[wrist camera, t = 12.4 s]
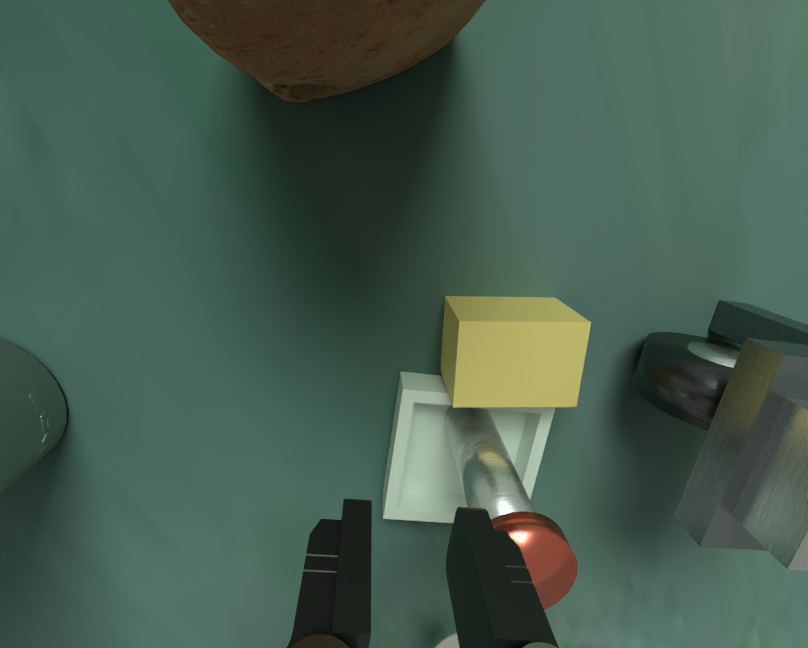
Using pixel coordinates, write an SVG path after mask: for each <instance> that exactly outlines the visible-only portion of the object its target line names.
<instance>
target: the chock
mask: <svg viewBox="0 0 808 648" xmlns="http://www.w3.org/2000/svg"><path fill="white" fill-rule="evenodd" d="M590 326H591V322H590V321H588V320H587V319H585V318H584V317H582V316H581V315H580V314H578V313H577V312H575V311H574V310H572V309H571V308H570V307H568V306H567V305H565V304H564V303H562V302H561V301H559V300H558V299H557V298H541V297H471V296H445V305H444V320H443V336H442V352H441V367H440V371H441V374H442V377H443V380H444V383H445V386H446V388H447V391H448V394H449V397H450V400H451V403H452V406H453V407H576V406H577V400H578V394H579V389H580V383H581V377H582V372H583V366H584V360H585V355H586V349H587V343H588V338H589V332H590Z"/></svg>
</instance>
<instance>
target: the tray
mask: <svg viewBox="0 0 808 648" xmlns="http://www.w3.org/2000/svg"><path fill="white" fill-rule="evenodd" d="M450 406H452V403H451V400H450V397H449V394H448V391H447V388H446V386H445V383H444V380H443V377H442V375H432V374H422V373H412V372H402V371H401V372H400V378H399V385H398V392H397V399H396V405H395V412H394V419H393V425H392V432H391V439H390V446H389V452H388V459H387V466H386V472H385V479H384V486H383V493H382V495H383V519H396V520H411V521H427V522H442V523H453V522H454V518H455V513H456V510H457V508H458V507H468V506H467V502H466V499H465V495H464V491H463V488H462V484H461V480H460V477H459V473H458V469H457V465H456V462H455V458H454V454H453V451H452V447H451V443H450V439H449V436H448V432H447V428H446V425H445V414H446V411H447V410H448V408H449V407H450ZM471 408H482V409H488V410H489V413H490V415H491V417H492V419H493V421H494V423H495V426H496V428H497V430H498V432H499V434H500V436H501V439H502V441H503V443H504V445H505V447H506V449H507V452H508V454H509V456H510V458H511V460H512V462H513V465H514V467H515V469H516V471H517V473H518V475H519V477H520V480H521V482H522V484H523V486H524V488H525V490H526V493H527V495H528V497H529V499H530V498H531V494H532V491H533V487H534V484H535V480H536V476H537V473H538V469H539V465H540V462H541V458H542V455H543V451H544V447H545V444H546V440H547V436H548V433H549V429H550V426H551V422H552V418H553V415H554V411H555V407H471Z"/></svg>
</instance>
